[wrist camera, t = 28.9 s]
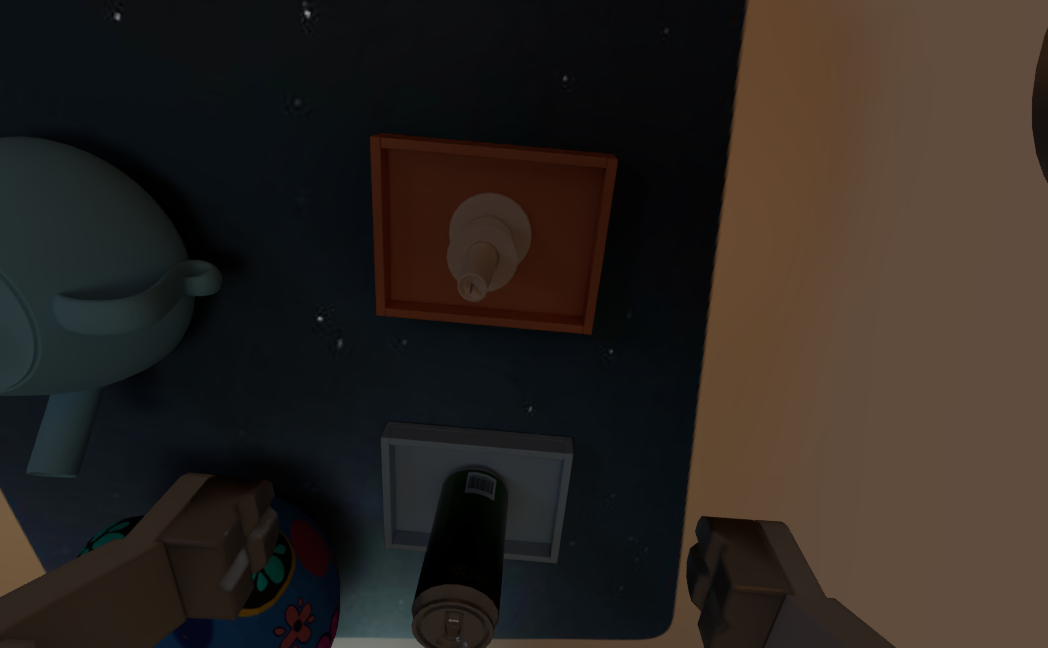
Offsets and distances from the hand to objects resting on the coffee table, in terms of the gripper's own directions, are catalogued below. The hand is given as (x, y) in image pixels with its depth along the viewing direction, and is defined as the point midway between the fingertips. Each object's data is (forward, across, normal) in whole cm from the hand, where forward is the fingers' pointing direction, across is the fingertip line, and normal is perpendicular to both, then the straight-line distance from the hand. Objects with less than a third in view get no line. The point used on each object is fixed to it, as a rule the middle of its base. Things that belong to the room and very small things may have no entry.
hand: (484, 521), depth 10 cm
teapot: (+26, +28, +8) cm, 39 cm away
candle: (+26, +2, +2) cm, 26 cm away
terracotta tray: (+26, +2, +2) cm, 26 cm away
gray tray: (+26, +2, +23) cm, 35 cm away
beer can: (+25, +2, +23) cm, 34 cm away
